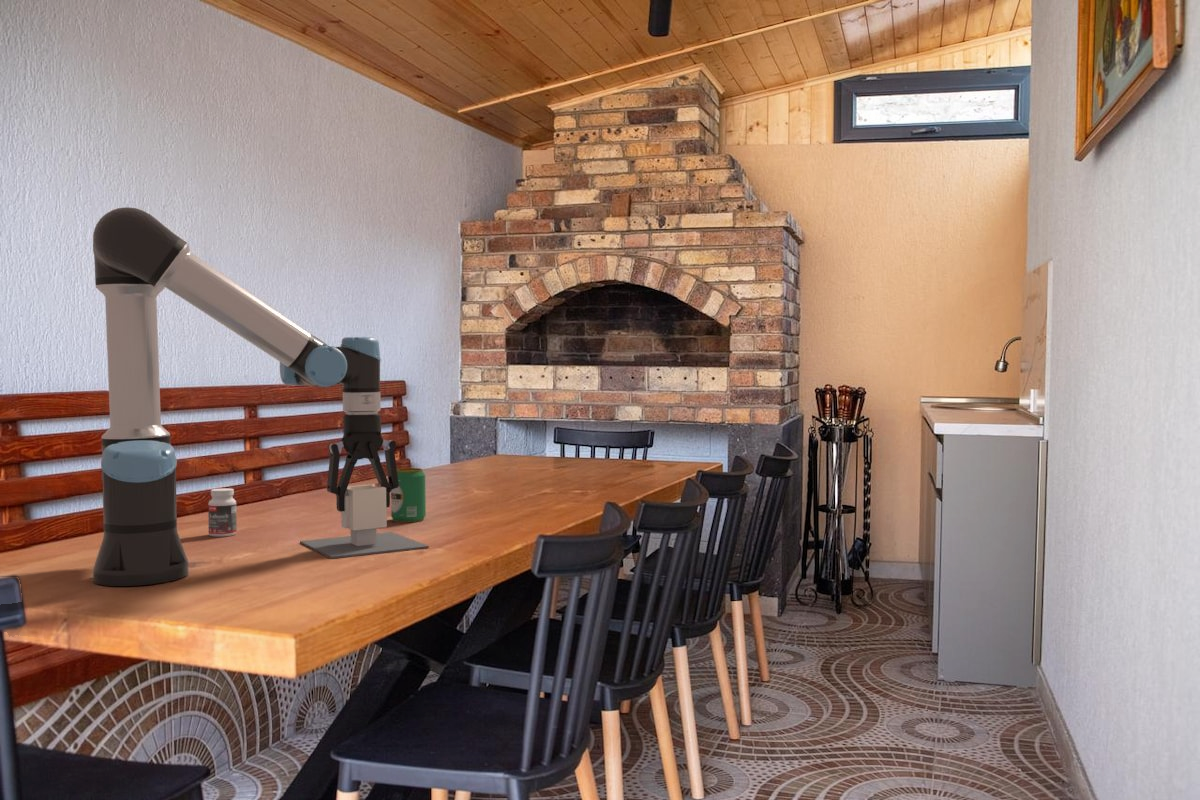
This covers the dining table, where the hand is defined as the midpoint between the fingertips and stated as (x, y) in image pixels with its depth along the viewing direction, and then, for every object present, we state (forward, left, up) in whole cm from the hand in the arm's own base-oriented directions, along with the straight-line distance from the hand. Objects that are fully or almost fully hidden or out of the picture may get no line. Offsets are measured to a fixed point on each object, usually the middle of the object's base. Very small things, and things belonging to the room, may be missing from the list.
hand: (363, 525), depth 206 cm
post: (0, 0, -4) cm, 4 cm away
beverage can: (+20, +26, -4) cm, 33 cm away
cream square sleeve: (0, 0, 0) cm, 0 cm away
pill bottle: (-21, +29, -4) cm, 36 cm away
